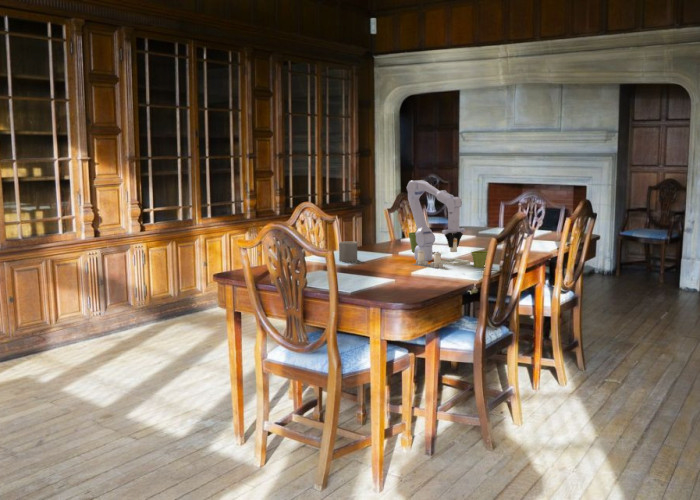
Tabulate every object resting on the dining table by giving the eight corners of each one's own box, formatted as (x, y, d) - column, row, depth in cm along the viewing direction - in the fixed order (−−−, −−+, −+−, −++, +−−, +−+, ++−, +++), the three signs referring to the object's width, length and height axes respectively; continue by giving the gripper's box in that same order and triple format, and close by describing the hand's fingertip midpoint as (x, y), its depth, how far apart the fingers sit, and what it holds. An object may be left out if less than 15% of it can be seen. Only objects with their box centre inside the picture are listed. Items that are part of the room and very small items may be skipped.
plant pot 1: (427, 250, 430) (427, 231, 429) (427, 253, 418) (427, 234, 417) (407, 250, 431) (407, 231, 430) (407, 253, 420) (407, 234, 418)
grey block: (352, 262, 387) (352, 244, 386) (336, 261, 392) (335, 243, 390) (363, 259, 399) (362, 241, 398) (346, 258, 403) (346, 240, 402)
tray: (436, 265, 373) (436, 260, 373) (453, 263, 380) (453, 258, 380) (453, 268, 363) (453, 263, 363) (470, 265, 370) (470, 260, 370)
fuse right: (432, 267, 358) (432, 253, 358) (437, 266, 361) (437, 252, 360) (437, 268, 356) (437, 254, 355) (442, 267, 358) (442, 253, 357)
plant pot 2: (475, 271, 354) (476, 253, 352) (467, 268, 363) (467, 251, 361) (493, 270, 356) (493, 253, 355) (484, 267, 365) (485, 250, 364)
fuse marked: (448, 251, 371) (448, 238, 370) (453, 251, 373) (453, 237, 372) (453, 252, 368) (453, 238, 367) (458, 251, 370) (458, 238, 369)
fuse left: (416, 264, 368) (416, 250, 367) (421, 263, 370) (421, 250, 369) (420, 265, 365) (421, 251, 364) (426, 264, 367) (426, 250, 366)
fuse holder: (411, 267, 369) (411, 260, 368) (421, 265, 373) (421, 259, 372) (437, 271, 353) (437, 264, 353) (447, 270, 358) (447, 263, 357)
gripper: (449, 222, 361) (448, 249, 363) (469, 220, 370) (469, 246, 371) (439, 221, 367) (439, 247, 369) (459, 219, 375) (459, 245, 377)
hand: (453, 247), depth 370 cm, fingers closed on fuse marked, 3 cm apart
